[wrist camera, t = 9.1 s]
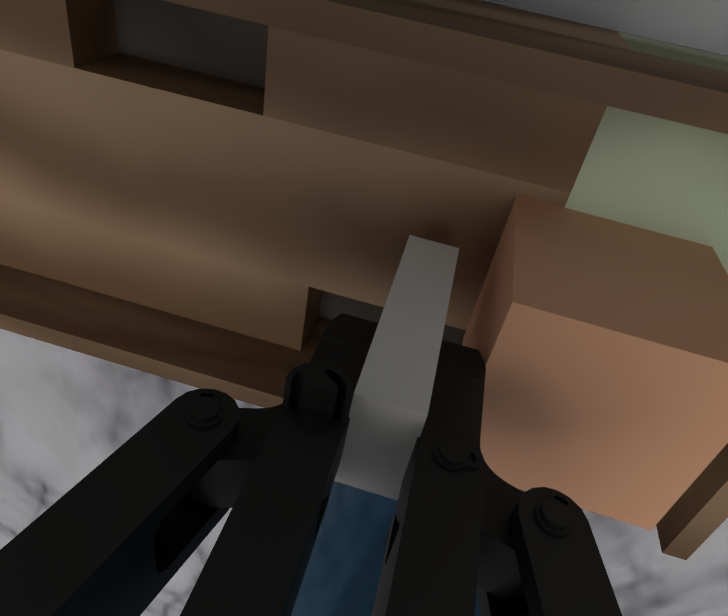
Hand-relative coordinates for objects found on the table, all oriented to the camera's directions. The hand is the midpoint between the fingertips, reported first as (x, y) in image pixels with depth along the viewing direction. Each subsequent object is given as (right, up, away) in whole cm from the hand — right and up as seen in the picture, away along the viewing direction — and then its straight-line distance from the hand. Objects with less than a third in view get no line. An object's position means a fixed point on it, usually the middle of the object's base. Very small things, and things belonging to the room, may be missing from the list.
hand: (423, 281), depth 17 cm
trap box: (-4, +4, +4) cm, 6 cm away
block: (+5, -1, +1) cm, 5 cm away
